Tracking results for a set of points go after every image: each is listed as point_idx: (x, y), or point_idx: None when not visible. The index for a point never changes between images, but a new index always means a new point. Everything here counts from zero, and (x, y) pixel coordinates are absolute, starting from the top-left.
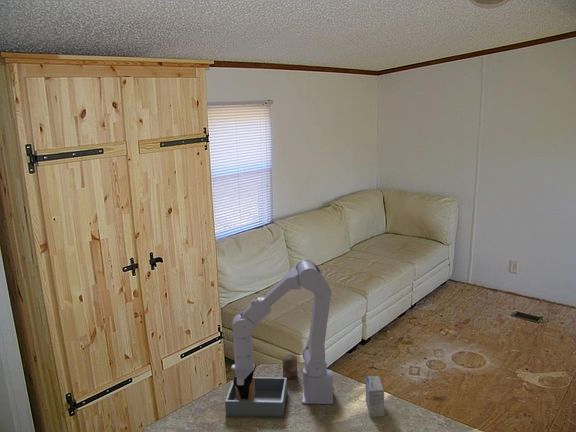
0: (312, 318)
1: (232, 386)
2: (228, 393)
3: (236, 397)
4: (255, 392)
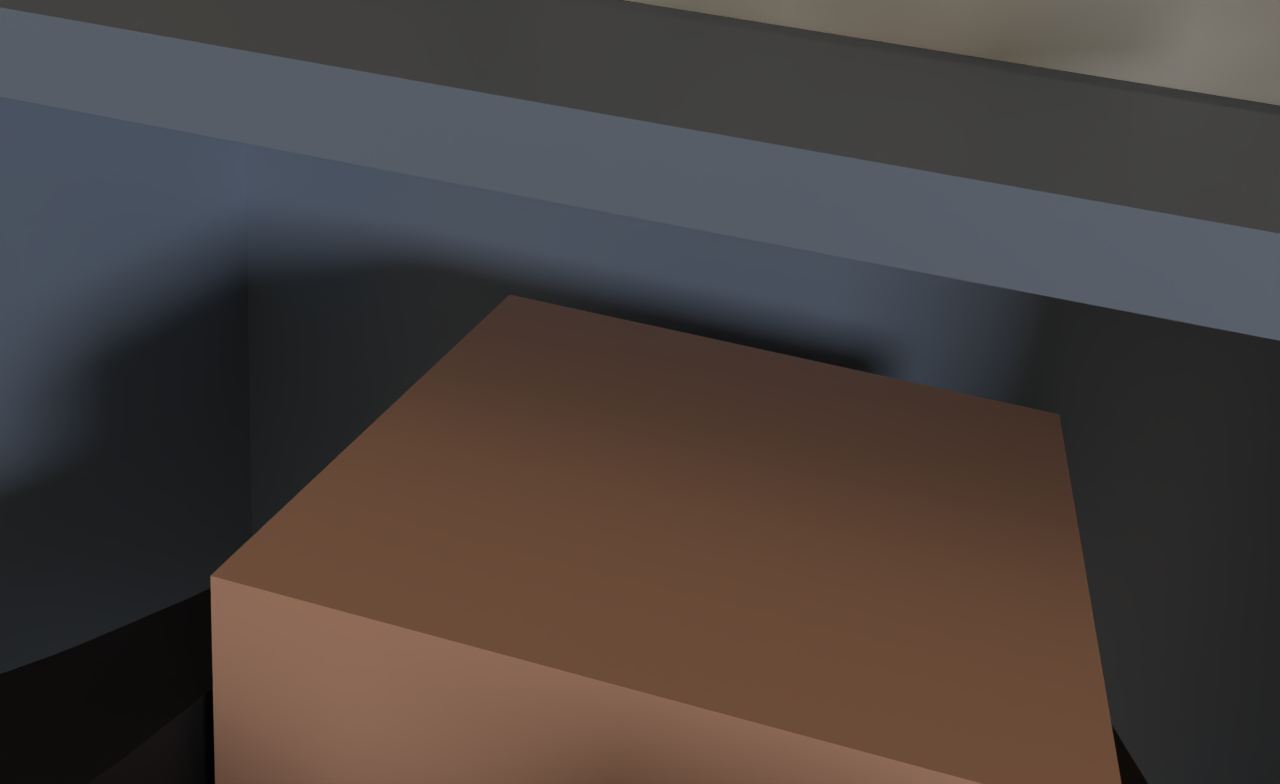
0: None
1: (955, 274)
2: (343, 101)
3: (446, 362)
4: (1156, 776)
